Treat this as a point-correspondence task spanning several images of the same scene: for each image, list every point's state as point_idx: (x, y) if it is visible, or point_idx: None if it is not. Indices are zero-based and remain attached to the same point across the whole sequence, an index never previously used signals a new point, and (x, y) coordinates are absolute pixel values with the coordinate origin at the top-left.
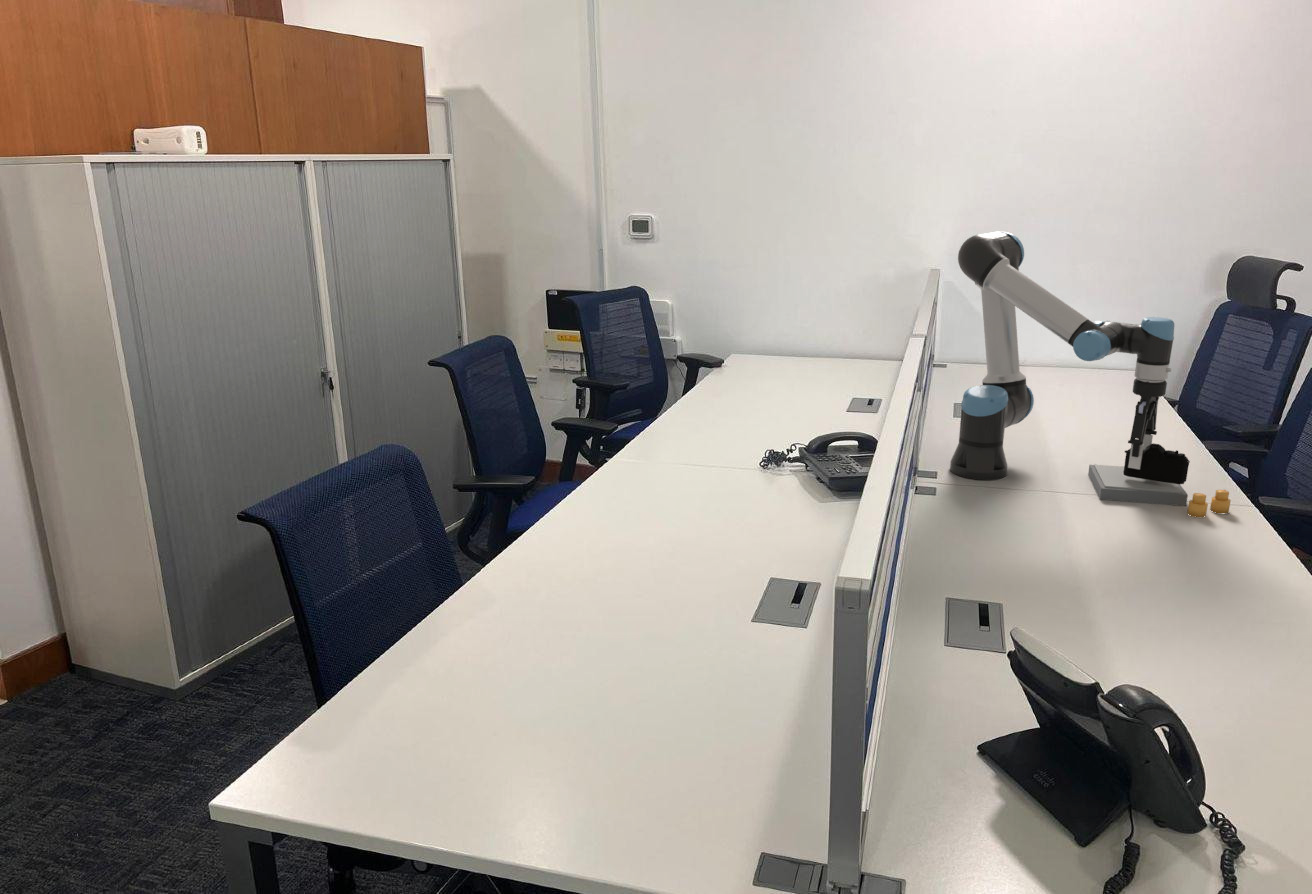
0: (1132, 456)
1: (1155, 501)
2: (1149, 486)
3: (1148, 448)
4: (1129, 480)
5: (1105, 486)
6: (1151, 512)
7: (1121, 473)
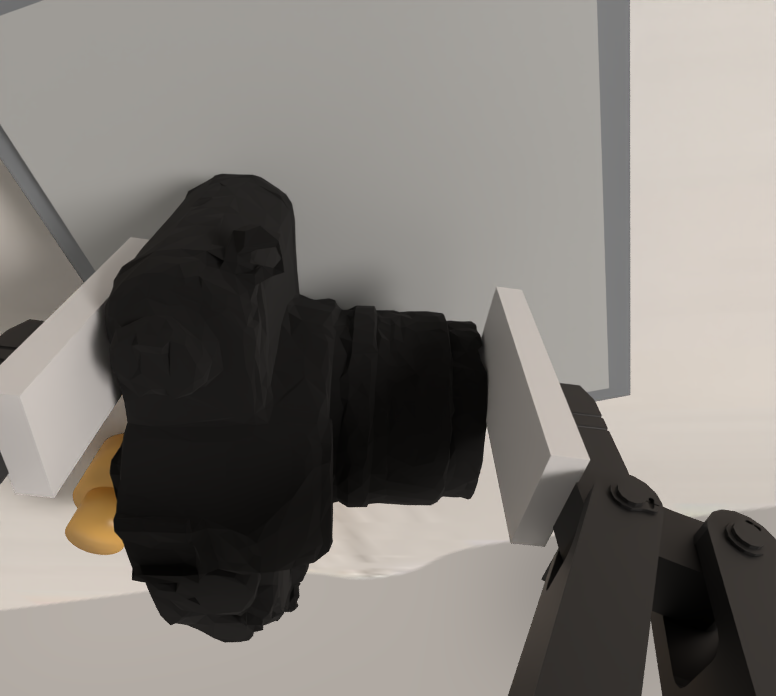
0: (29, 326)
1: None
2: None
3: (142, 490)
4: None
5: None
6: (8, 313)
7: (386, 134)
